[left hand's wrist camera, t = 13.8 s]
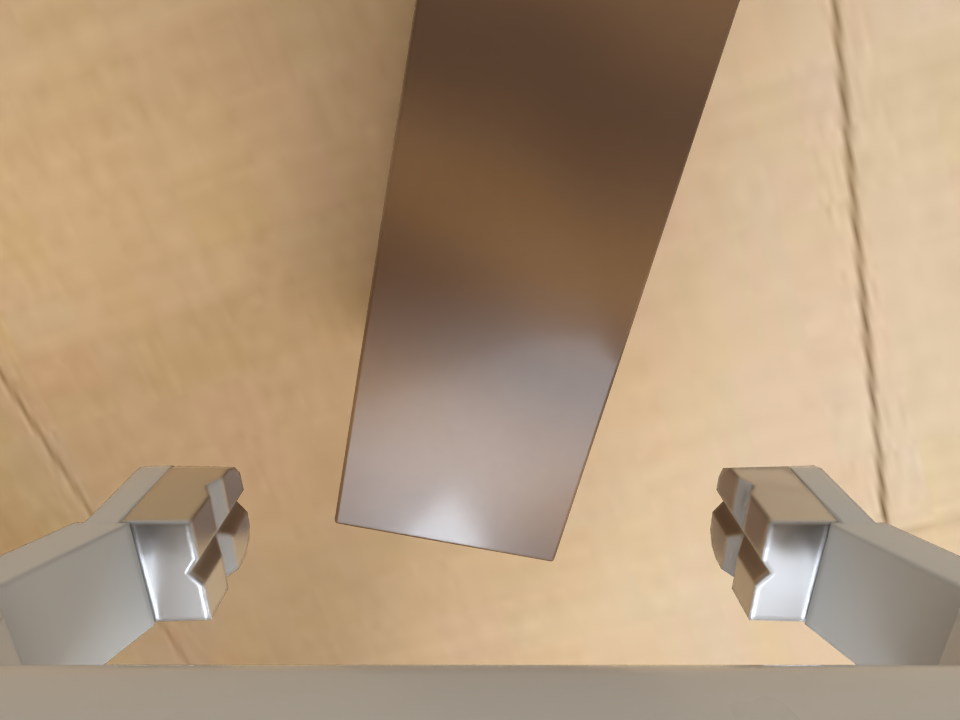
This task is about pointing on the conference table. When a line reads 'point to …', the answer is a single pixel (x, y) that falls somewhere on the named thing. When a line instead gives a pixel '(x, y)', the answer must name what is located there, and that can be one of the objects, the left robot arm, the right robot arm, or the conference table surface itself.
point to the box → (516, 255)
